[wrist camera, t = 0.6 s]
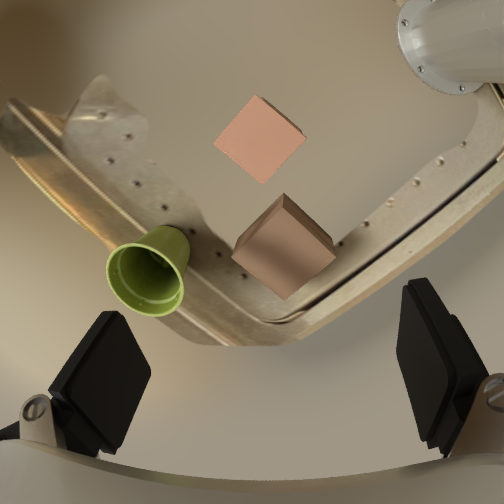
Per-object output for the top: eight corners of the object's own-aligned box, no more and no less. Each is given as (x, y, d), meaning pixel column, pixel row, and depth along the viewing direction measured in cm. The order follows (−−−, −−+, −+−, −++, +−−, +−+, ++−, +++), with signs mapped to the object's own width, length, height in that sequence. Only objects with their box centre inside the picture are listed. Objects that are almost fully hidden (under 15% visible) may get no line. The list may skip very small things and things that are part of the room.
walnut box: (283, 192, 35) (282, 207, 31) (331, 237, 37) (336, 257, 33) (238, 237, 39) (231, 257, 34) (285, 277, 41) (284, 300, 36)
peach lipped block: (262, 95, 30) (255, 94, 24) (303, 130, 32) (306, 138, 25) (228, 134, 33) (213, 144, 26) (268, 167, 34) (262, 185, 28)
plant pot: (218, 257, 40) (201, 297, 33) (166, 287, 43) (143, 327, 36) (173, 198, 37) (143, 227, 29) (124, 236, 40) (91, 268, 33)
